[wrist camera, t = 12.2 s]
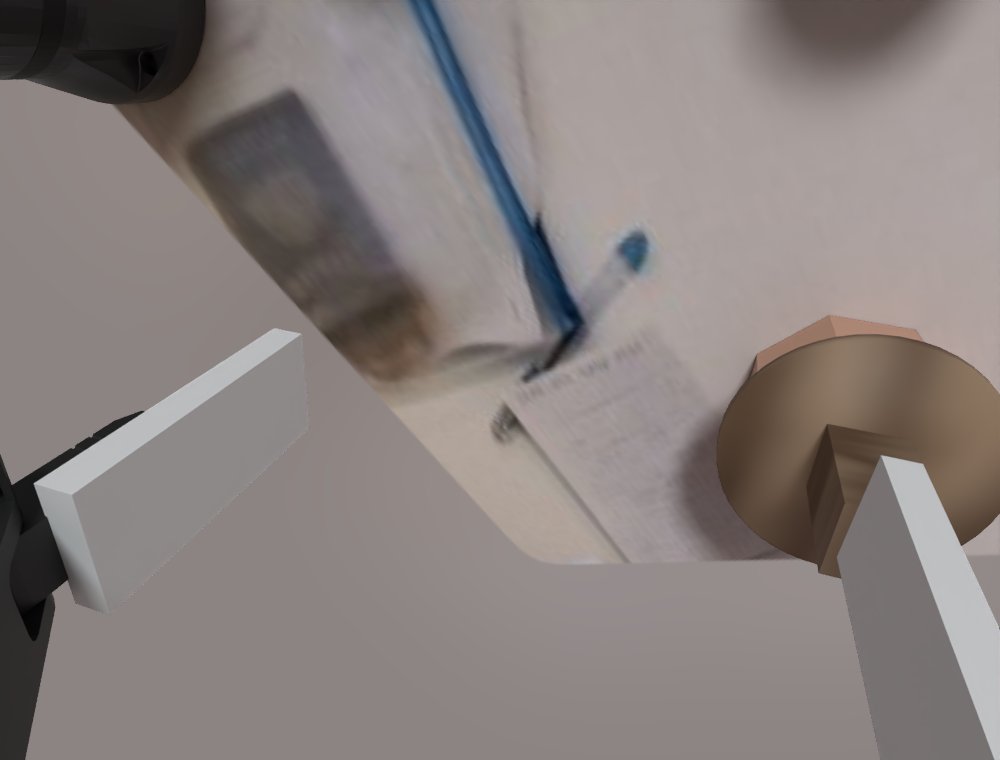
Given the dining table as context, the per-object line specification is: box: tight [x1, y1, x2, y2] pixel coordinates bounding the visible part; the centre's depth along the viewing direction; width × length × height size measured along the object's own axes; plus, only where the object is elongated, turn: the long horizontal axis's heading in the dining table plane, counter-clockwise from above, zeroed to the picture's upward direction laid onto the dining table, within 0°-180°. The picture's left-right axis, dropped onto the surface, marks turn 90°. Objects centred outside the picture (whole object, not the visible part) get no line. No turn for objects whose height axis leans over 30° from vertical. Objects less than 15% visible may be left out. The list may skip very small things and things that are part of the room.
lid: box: [717, 334, 1000, 578], centre depth 31 cm, size 14×14×8 cm
